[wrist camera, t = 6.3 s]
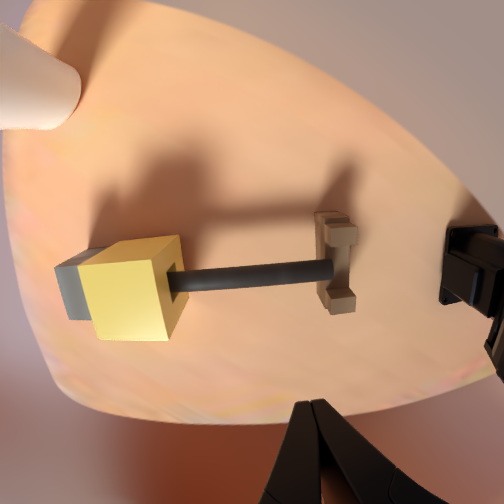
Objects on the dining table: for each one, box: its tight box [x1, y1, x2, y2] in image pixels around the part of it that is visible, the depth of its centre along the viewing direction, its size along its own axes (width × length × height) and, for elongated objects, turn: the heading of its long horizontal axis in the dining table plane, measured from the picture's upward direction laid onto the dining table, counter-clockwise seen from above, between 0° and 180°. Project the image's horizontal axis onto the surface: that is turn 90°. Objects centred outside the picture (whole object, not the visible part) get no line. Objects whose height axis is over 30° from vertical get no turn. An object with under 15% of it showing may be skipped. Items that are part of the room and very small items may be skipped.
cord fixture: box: [54, 211, 358, 320], centre depth 17 cm, size 18×6×4 cm, turn 95°
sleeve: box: [77, 235, 189, 341], centre depth 16 cm, size 4×4×6 cm
